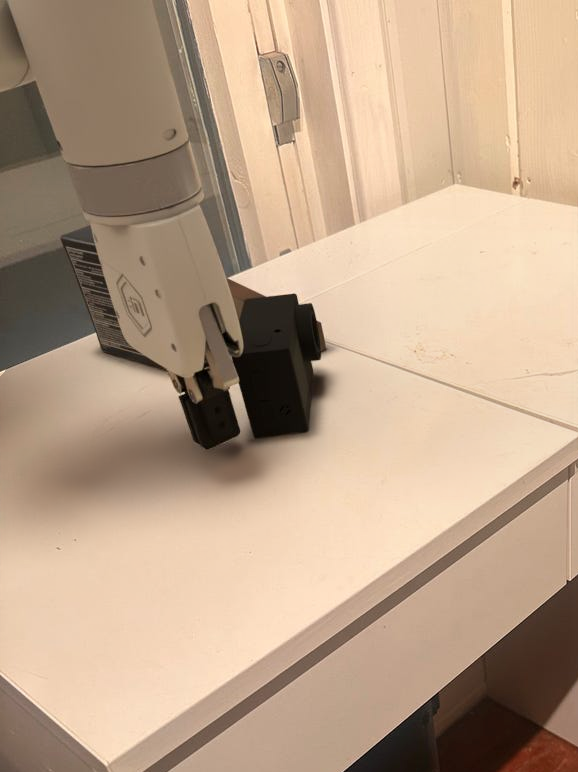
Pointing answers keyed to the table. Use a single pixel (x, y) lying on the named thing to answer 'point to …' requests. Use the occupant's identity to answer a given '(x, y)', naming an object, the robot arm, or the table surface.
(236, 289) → the brown wooden bar
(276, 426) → the digital camera
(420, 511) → the table surface
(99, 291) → the small box
